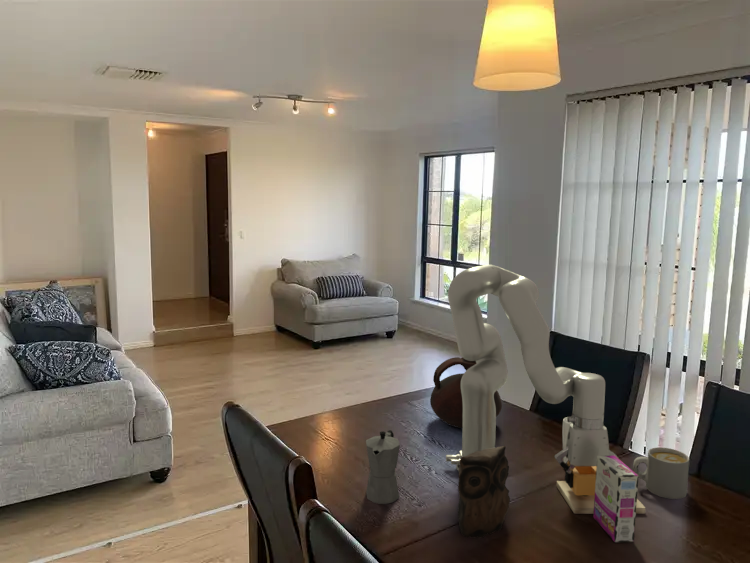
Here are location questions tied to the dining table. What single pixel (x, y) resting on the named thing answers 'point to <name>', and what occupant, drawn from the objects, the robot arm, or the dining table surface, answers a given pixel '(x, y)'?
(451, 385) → the jug
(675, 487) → the coffee mug
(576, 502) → the board
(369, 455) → the coffeepot
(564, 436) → the drinking glass
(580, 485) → the small open box
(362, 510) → the dining table surface
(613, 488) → the candy bar box
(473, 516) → the owl
